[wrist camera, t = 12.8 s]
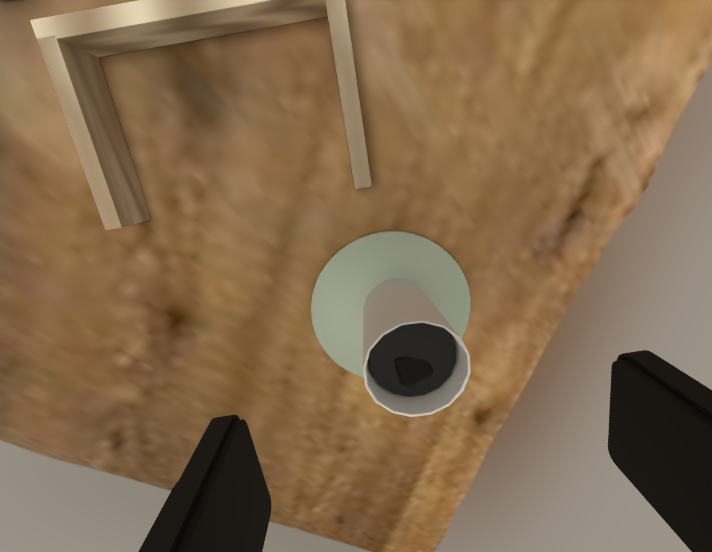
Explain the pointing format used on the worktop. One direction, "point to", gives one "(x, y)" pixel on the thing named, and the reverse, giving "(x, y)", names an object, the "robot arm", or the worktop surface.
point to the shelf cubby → (155, 29)
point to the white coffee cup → (410, 351)
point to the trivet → (371, 267)
